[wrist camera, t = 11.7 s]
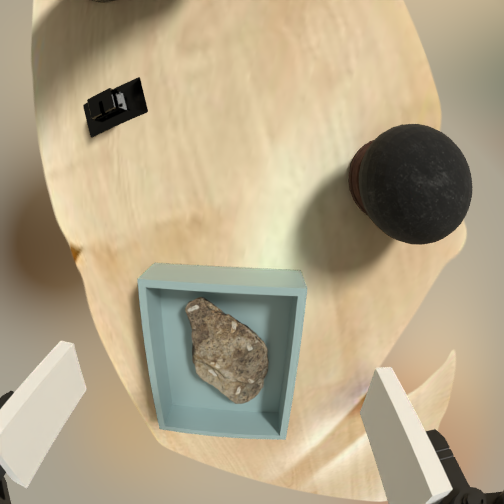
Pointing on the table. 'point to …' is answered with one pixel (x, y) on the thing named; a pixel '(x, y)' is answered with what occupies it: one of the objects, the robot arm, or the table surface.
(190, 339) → the storage tub
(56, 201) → the table surface
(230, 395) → the rock
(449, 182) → the black globe on stand
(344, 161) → the table surface
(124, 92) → the build plate
